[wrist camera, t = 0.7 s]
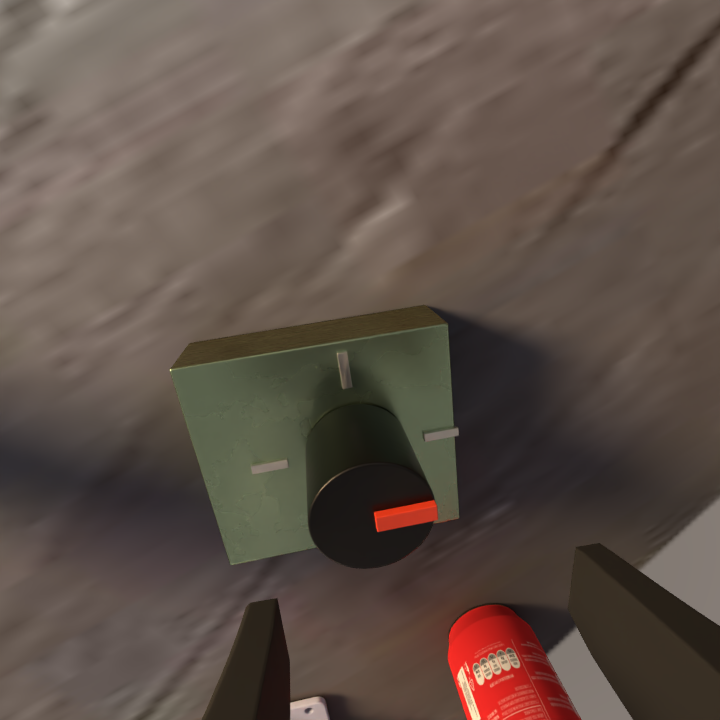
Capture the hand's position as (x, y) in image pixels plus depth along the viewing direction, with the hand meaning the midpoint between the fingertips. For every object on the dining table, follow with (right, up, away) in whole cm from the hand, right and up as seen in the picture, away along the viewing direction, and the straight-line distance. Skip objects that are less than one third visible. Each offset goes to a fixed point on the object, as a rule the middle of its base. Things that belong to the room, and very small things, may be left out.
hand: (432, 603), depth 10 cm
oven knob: (-2, +2, +7) cm, 7 cm away
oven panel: (-3, +3, +10) cm, 11 cm away
